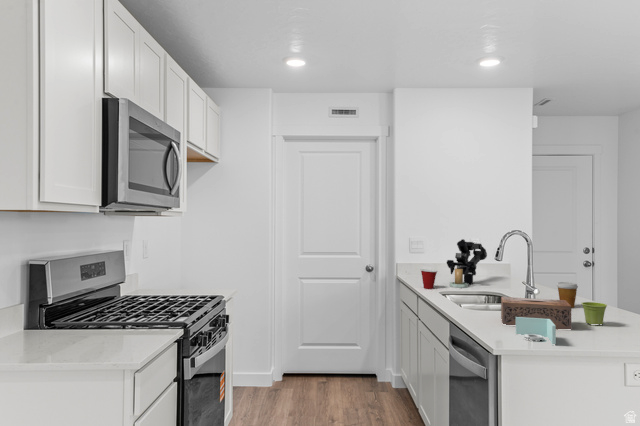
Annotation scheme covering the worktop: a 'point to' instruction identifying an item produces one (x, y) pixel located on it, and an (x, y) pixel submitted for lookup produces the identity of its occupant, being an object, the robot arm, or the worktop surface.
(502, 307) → the tissue box cover
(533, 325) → the right angle wall
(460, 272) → the bottle
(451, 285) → the dish
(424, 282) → the plastic cup
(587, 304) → the plant pot
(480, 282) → the worktop surface
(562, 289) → the disposable coffee cup
